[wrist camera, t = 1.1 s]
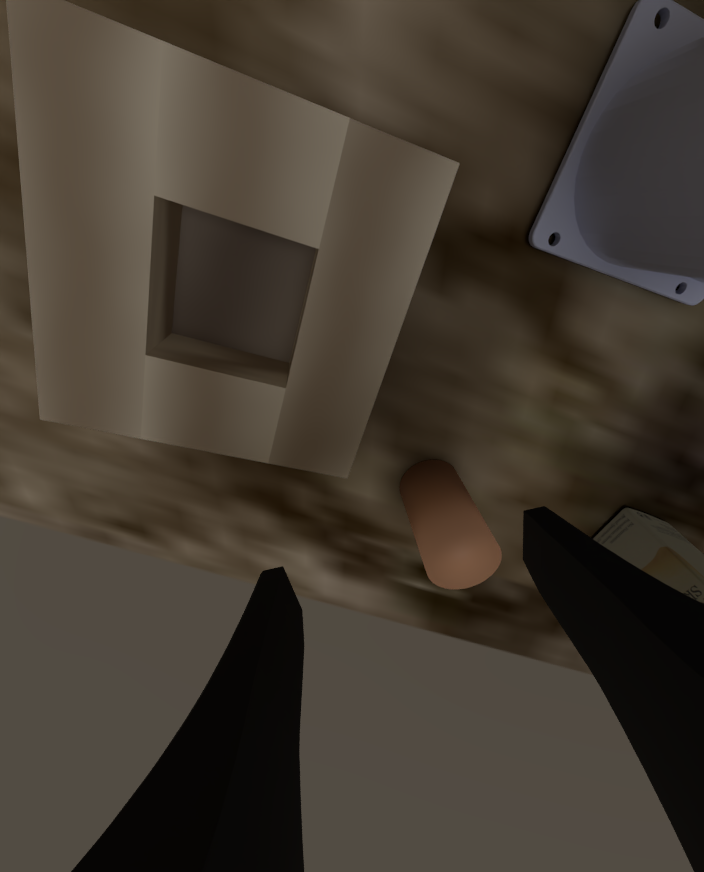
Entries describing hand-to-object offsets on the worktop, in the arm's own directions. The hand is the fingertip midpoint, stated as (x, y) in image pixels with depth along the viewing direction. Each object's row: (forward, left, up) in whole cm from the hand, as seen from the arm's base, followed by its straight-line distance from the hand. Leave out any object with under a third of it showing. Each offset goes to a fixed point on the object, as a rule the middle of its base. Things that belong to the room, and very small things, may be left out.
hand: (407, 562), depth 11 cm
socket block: (+7, -5, -10) cm, 13 cm away
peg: (-5, +3, -10) cm, 12 cm away
